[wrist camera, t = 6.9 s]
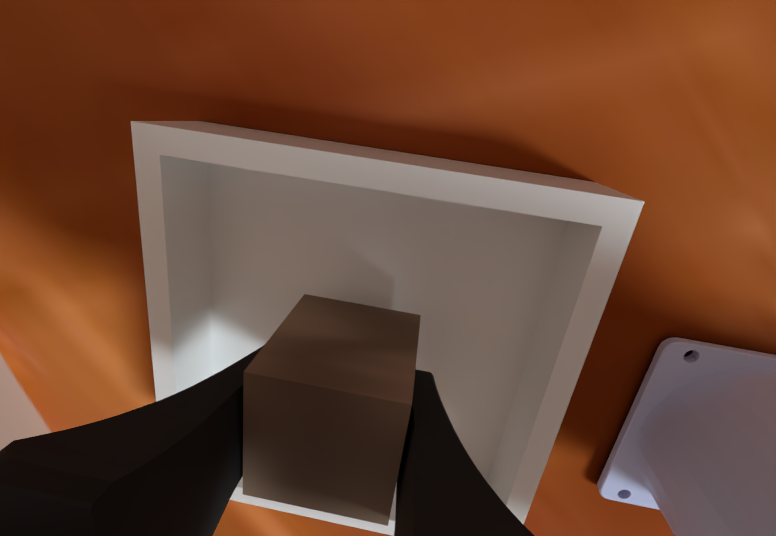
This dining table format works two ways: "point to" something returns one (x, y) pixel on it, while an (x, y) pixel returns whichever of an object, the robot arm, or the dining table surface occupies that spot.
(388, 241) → the tote
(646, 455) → the robot arm
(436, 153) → the dining table surface
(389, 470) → the walnut block
